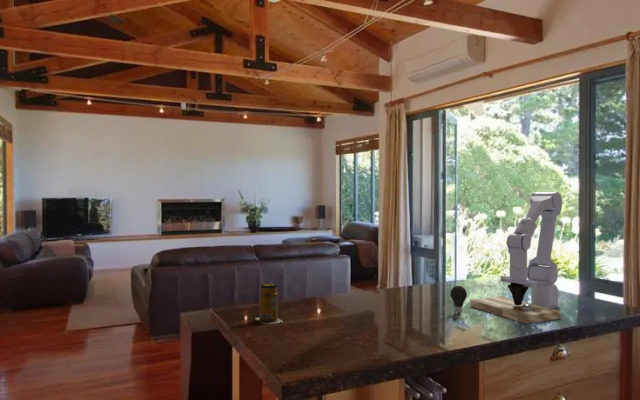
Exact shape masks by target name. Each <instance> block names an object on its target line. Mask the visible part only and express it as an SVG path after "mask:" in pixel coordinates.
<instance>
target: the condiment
mask: <svg viewBox="0 0 640 400" xmlns="http://www.w3.org/2000/svg"><path fill="white" fill-rule="evenodd" d="M277 287H278V285H277V284H276V283H271V282H270V283H269V282H268V283H263V284H261V286H260V293H259V317H255V318H254V319H255V320H256V321H257V322H259V323H260V324H262V325H272V324H279V323H280V322H281V323H284V321H283V320H282V319H279V318H278V315H279V313H278V312H279V311H278V310H279V309H278V308H279V306H278V305H279V297H278V296H279V294H278V289H277Z"/></svg>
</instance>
